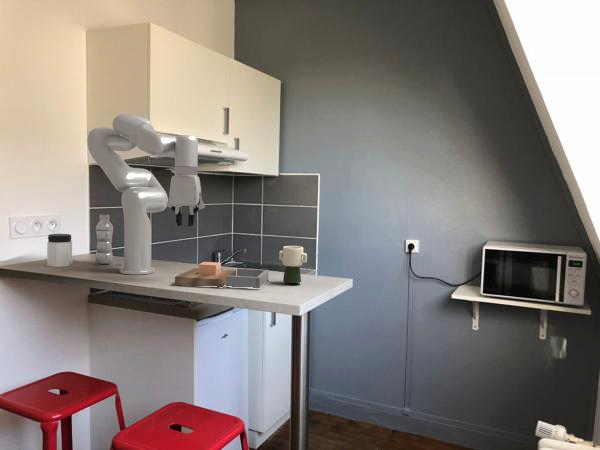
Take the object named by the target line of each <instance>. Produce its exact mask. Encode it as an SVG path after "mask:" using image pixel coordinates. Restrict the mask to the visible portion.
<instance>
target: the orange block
mask: <svg viewBox="0 0 600 450" xmlns="http://www.w3.org/2000/svg"><path fill="white" fill-rule="evenodd" d="M198 268H199V275H214V276H216V275H218V274H219V273H221V270H222V269H221V268H222V263H221V262H219V261H218V262H215V261H214V262H213V261H202V262H200V263H199V264H198Z"/></svg>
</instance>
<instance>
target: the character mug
mask: <svg viewBox="0 0 600 450" xmlns="http://www.w3.org/2000/svg"><path fill="white" fill-rule="evenodd" d="M278 254H279V255H278V259H279V261H282V265H283V266H285V268H284V273H283V278H282V279H283V280H282V282H283V284H287V283H296V284H301V283H302V275H301V268H300V267H301V266H302V265H304V264H306V263H307V262H308V254H307V253H305V252H304V247H303V246H300V245H285V246H282V250H279V252H278ZM300 282H301V283H300Z"/></svg>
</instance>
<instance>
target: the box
mask: <svg viewBox="0 0 600 450" xmlns="http://www.w3.org/2000/svg"><path fill="white" fill-rule="evenodd" d="M269 272H270V270H269V269H258V268H239V267H238V268H237V269H236V276H229V275H227V276H226V286H232V287H253V288H260V287H261V286H262V285H263V284H264V283H265V282H266V281H267V280H268V281H269V278H270V277H269ZM226 286H225V287H226Z"/></svg>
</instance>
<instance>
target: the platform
mask: <svg viewBox="0 0 600 450" xmlns="http://www.w3.org/2000/svg"><path fill="white" fill-rule="evenodd" d="M227 275H229V276H237V269H236V270H233V269H221V273H219V274H218V275H216V276H214V275H199V267H198V268H197V267H192V268H190V269H188V270H186V271H184V272H182V273H180V274H178V275H176V276H175V277H174V286H175V285H183V286H182V287H187V286H217V287H223V286H224V285H226V276H227Z"/></svg>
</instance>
